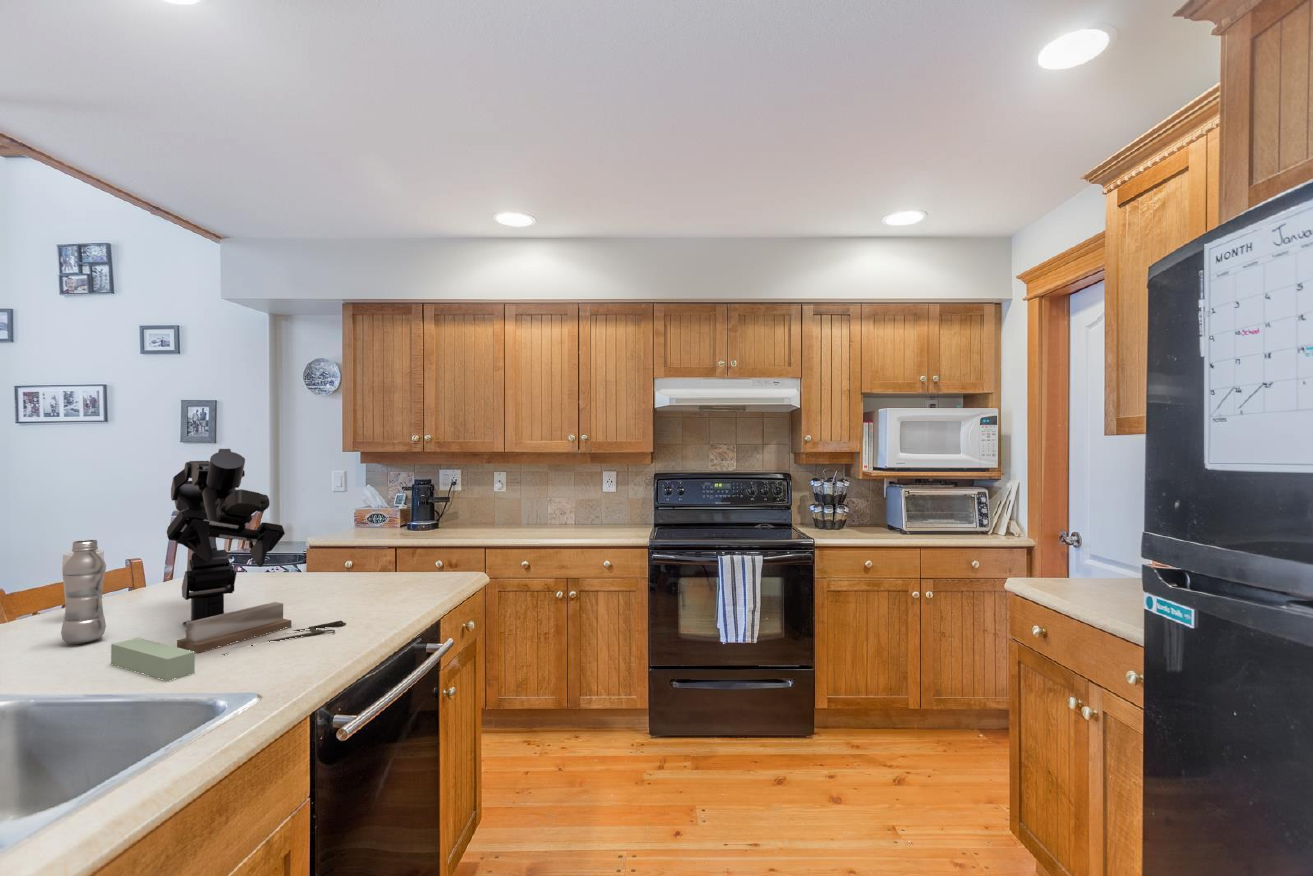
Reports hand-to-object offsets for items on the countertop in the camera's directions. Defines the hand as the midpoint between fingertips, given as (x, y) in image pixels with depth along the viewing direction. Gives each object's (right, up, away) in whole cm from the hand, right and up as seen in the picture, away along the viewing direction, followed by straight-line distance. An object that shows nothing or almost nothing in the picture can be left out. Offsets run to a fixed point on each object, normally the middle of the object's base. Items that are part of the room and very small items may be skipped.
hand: (236, 562), depth 114 cm
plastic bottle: (-34, -17, +5) cm, 39 cm away
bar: (-9, -17, -9) cm, 21 cm away
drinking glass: (-50, -17, +22) cm, 57 cm away
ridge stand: (-6, -17, +9) cm, 20 cm away
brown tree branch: (+4, -18, +7) cm, 20 cm away
